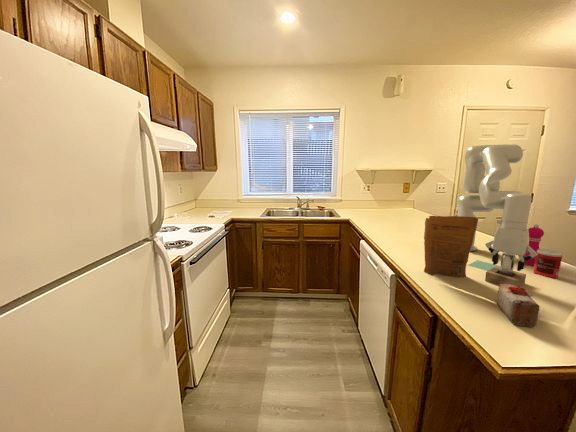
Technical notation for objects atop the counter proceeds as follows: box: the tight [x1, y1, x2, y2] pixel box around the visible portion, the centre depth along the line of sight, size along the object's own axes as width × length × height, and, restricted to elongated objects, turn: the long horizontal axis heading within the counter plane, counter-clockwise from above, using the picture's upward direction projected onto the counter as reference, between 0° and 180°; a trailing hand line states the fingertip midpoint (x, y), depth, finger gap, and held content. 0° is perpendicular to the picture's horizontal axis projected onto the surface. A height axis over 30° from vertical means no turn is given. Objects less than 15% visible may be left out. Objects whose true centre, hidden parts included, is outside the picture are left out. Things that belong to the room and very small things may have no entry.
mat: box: [467, 259, 501, 272], centre depth 118 cm, size 11×11×1 cm
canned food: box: [532, 248, 563, 280], centre depth 108 cm, size 8×8×11 cm
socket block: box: [484, 266, 527, 288], centre depth 102 cm, size 10×10×5 cm
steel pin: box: [499, 252, 517, 277], centre depth 101 cm, size 4×4×12 cm
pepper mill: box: [525, 223, 545, 267], centre depth 120 cm, size 7×7×20 cm
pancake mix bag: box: [423, 215, 479, 278], centre depth 109 cm, size 7×19×28 cm, turn 61°
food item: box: [496, 284, 541, 329], centre depth 81 cm, size 14×8×10 cm, turn 158°
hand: (507, 266), depth 101 cm, fingers open, 7 cm apart
